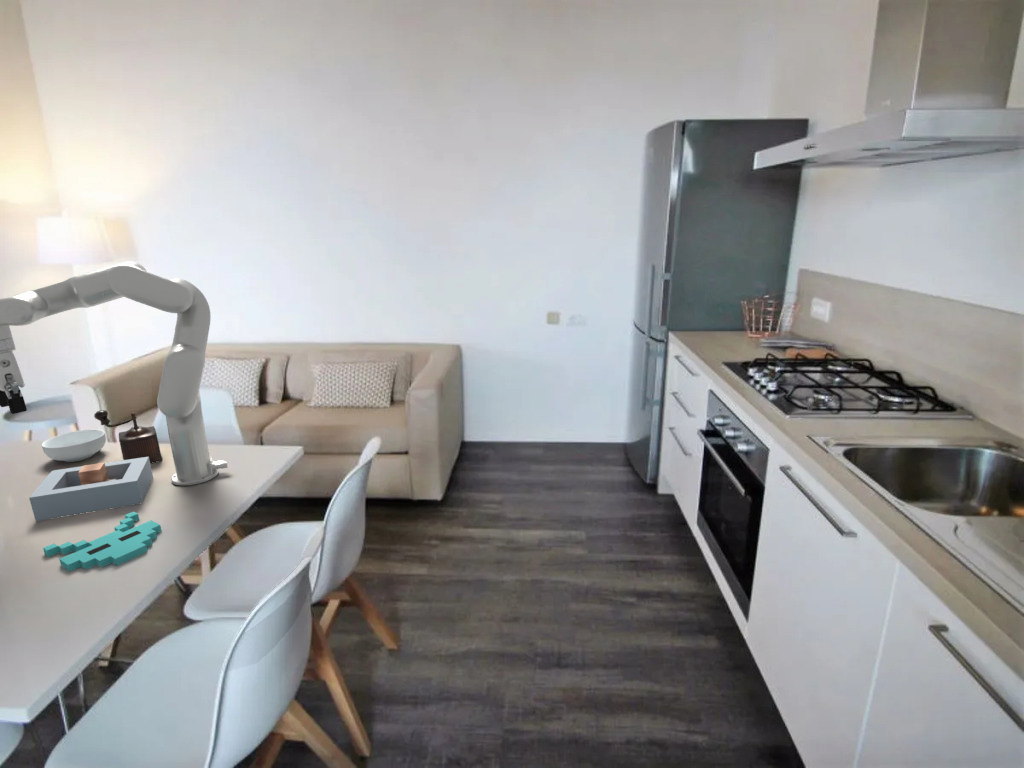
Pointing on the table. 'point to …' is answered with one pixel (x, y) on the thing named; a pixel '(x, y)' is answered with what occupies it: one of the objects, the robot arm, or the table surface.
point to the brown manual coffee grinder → (134, 439)
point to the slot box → (91, 490)
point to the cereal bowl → (74, 445)
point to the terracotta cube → (93, 474)
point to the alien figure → (108, 545)
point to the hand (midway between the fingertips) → (13, 408)
